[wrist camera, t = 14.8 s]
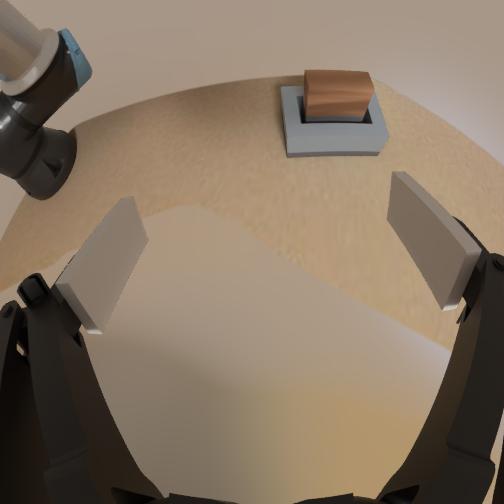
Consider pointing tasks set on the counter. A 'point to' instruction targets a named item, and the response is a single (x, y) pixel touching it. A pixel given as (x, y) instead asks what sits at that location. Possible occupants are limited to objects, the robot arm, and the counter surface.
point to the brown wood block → (336, 96)
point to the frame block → (330, 130)
